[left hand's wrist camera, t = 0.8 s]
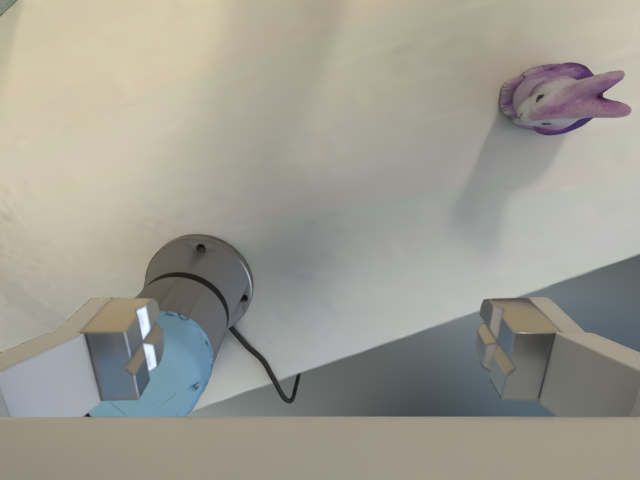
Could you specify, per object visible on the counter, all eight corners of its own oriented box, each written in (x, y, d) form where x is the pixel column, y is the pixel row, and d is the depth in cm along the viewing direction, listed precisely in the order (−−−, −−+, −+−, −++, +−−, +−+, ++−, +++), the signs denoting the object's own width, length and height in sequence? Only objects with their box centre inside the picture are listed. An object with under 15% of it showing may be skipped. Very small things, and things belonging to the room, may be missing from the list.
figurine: (478, 104, 52) (537, 112, 38) (546, 39, 49) (636, 23, 35) (523, 156, 54) (593, 182, 40) (589, 97, 52) (690, 103, 38)
